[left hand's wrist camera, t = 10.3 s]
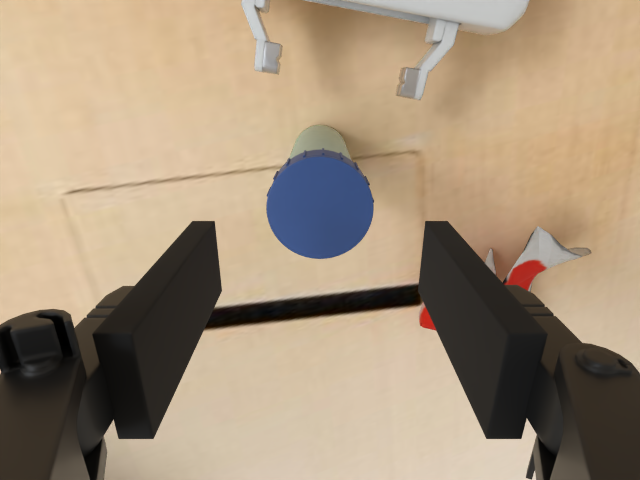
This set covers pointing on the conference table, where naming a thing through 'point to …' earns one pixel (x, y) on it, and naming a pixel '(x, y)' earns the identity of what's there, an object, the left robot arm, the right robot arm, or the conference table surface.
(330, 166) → the lid
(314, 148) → the green bottle
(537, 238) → the fish
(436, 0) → the right robot arm
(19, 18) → the conference table surface
